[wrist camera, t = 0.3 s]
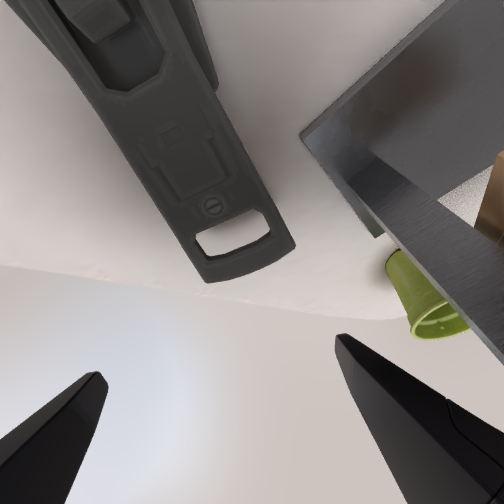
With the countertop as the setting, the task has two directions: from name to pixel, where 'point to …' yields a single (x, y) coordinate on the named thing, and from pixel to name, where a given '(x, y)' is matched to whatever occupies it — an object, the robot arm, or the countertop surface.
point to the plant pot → (423, 301)
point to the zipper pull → (164, 117)
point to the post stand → (428, 152)
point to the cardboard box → (493, 205)
